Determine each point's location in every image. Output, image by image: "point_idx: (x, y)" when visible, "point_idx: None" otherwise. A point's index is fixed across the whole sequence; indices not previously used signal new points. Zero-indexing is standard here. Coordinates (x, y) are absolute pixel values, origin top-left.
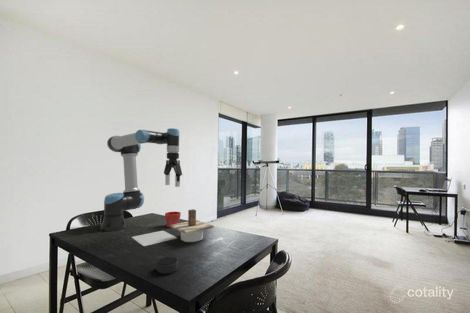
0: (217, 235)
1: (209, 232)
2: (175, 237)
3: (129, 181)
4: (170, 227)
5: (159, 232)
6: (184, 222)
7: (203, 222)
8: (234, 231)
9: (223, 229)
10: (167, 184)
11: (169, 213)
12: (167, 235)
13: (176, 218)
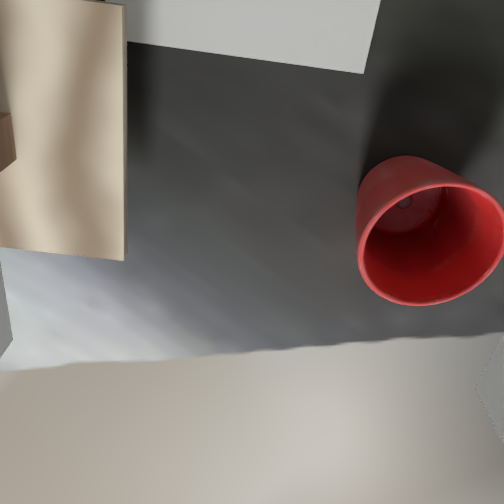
0: (8, 260)
1: (93, 268)
2: (128, 32)
3: None
4: (381, 163)
5: (340, 19)
6: (117, 149)
7: (18, 246)
8: (15, 360)
9: (89, 351)
10: (501, 356)
11: (490, 247)
12: (219, 18)
13: (357, 224)
